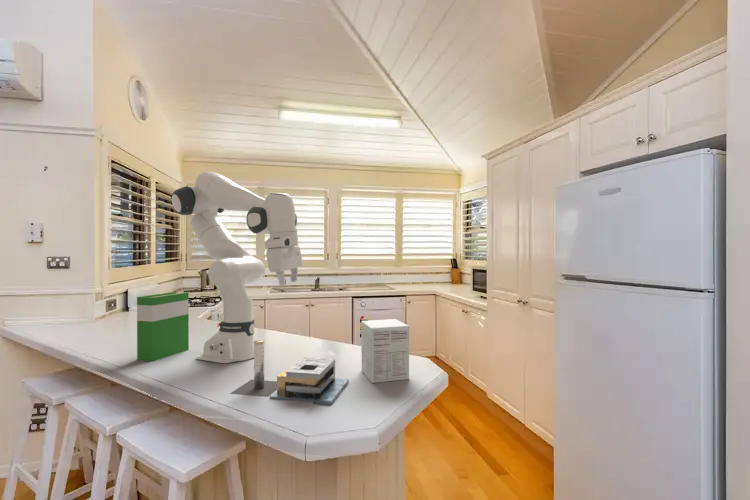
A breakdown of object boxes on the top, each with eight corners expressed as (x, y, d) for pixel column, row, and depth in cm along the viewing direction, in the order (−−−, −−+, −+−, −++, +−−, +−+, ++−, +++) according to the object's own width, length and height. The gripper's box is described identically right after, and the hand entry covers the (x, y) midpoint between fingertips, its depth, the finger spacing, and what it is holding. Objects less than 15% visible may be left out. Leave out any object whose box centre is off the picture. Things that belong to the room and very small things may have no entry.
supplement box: (410, 379, 123) (410, 325, 123) (371, 383, 119) (371, 328, 119) (396, 367, 136) (396, 318, 136) (360, 370, 132) (360, 320, 132)
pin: (252, 389, 114) (252, 342, 114) (257, 385, 117) (257, 339, 117) (261, 389, 113) (261, 342, 113) (266, 386, 116) (266, 340, 116)
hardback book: (174, 348, 162) (174, 291, 162) (188, 349, 160) (188, 292, 160) (137, 359, 145) (137, 296, 145) (152, 361, 143) (151, 297, 143)
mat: (229, 394, 110) (229, 393, 110) (251, 380, 122) (251, 379, 122) (268, 398, 108) (268, 396, 108) (286, 383, 120) (286, 382, 120)
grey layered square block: (269, 399, 107) (269, 373, 107) (295, 378, 124) (295, 355, 124) (331, 404, 103) (331, 377, 103) (348, 382, 121) (348, 358, 121)
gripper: (287, 241, 135) (291, 280, 136) (261, 243, 115) (266, 288, 116) (304, 240, 134) (308, 278, 135) (281, 241, 114) (285, 286, 115)
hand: (288, 283), depth 125 cm, fingers open, 8 cm apart
